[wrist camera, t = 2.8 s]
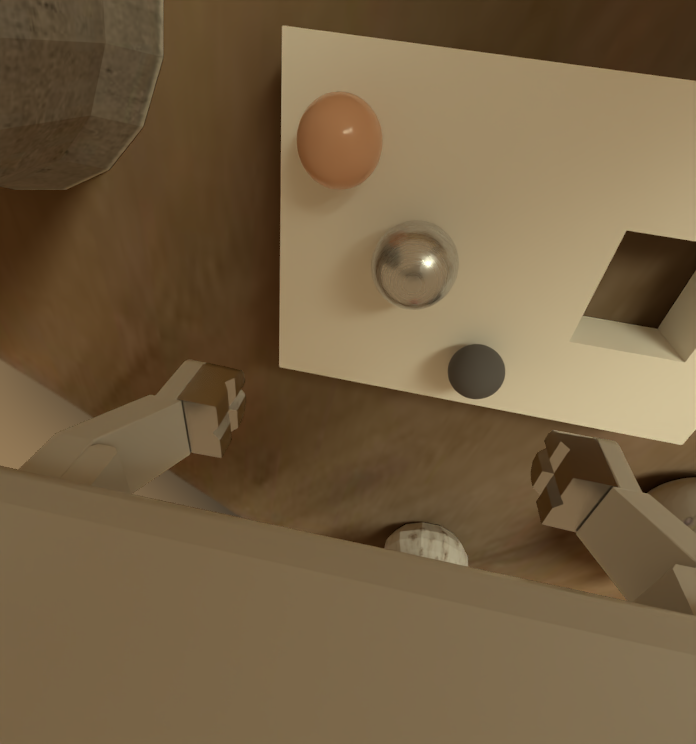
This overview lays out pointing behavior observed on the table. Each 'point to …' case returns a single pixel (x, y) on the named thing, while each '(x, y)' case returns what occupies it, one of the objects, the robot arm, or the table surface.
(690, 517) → the teacup
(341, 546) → the robot arm
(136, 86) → the pitcher
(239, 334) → the table surface
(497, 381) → the black rubber ball
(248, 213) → the table surface
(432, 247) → the steel ball
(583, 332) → the white slab
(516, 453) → the table surface
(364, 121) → the terracotta ball
